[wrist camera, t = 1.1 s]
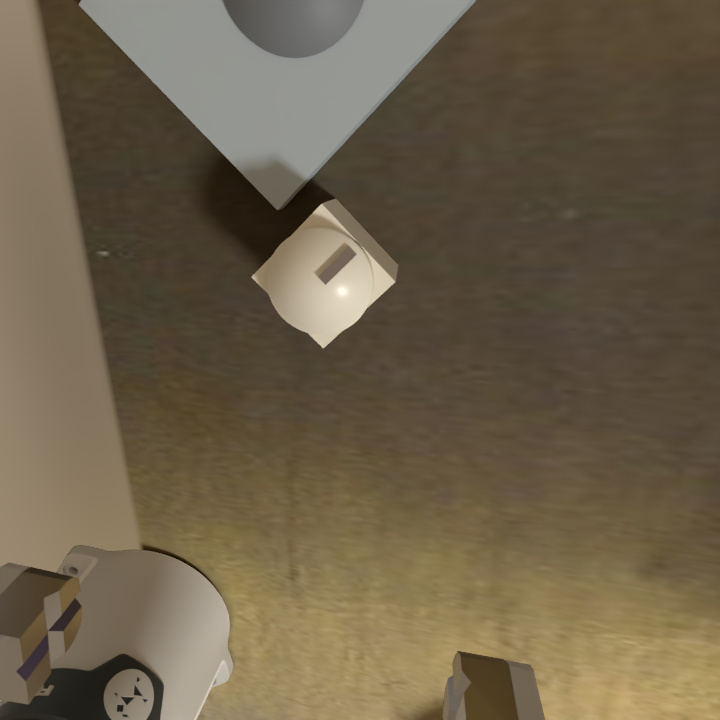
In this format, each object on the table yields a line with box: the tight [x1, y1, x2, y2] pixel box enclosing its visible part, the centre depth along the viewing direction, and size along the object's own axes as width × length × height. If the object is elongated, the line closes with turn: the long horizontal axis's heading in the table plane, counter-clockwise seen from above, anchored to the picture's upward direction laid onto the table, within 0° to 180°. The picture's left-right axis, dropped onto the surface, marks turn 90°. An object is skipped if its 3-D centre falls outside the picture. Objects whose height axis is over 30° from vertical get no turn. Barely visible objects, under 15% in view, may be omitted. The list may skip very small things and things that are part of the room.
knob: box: [252, 199, 398, 348], centre depth 32 cm, size 6×6×7 cm
